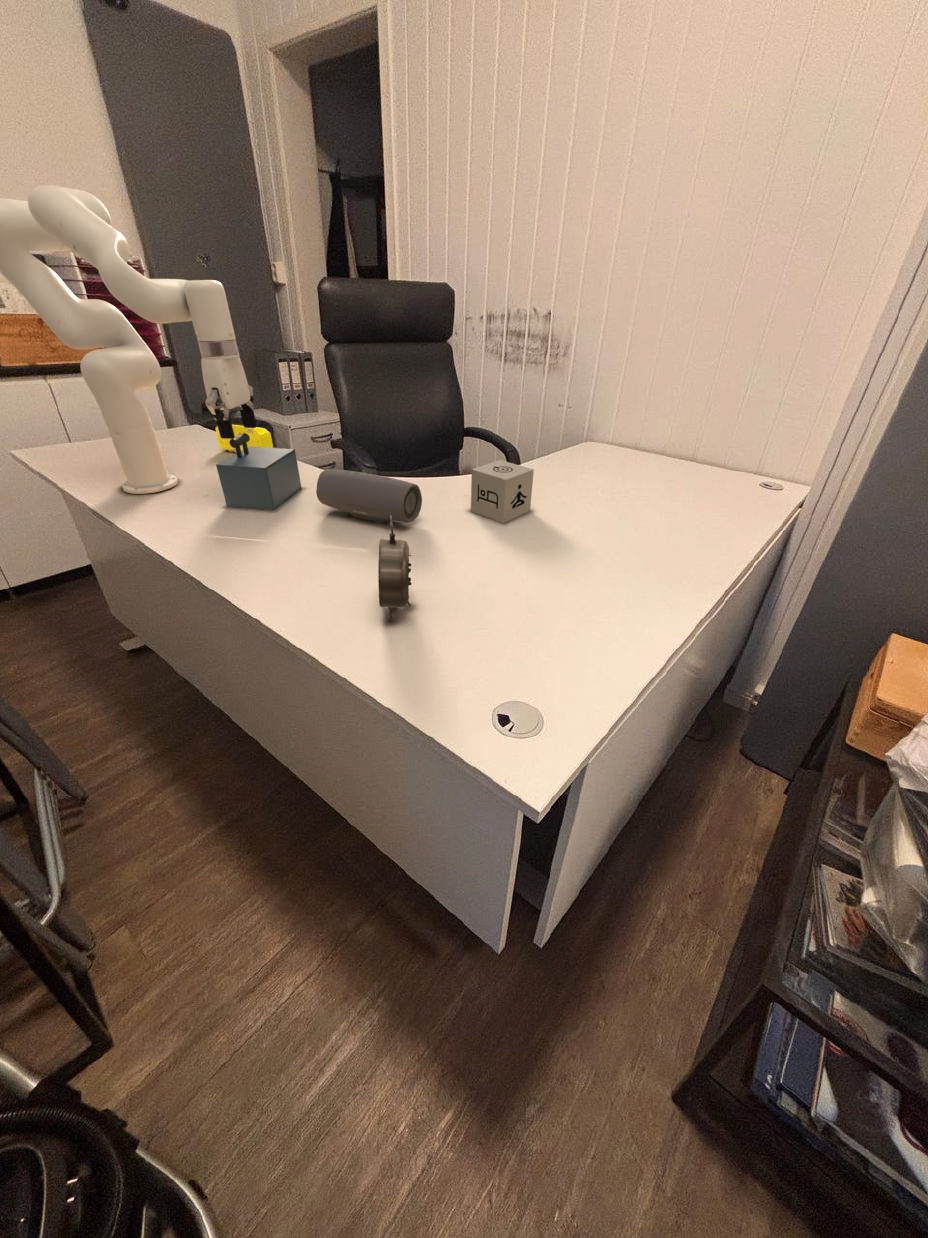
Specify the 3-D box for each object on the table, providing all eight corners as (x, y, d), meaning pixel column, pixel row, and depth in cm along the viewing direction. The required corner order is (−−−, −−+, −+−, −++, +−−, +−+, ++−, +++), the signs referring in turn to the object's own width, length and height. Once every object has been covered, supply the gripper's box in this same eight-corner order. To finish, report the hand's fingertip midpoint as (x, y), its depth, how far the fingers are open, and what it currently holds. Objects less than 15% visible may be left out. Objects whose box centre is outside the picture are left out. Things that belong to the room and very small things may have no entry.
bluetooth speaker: (424, 518, 116) (422, 475, 110) (403, 534, 109) (400, 489, 103) (342, 502, 124) (337, 461, 118) (318, 515, 117) (311, 472, 111)
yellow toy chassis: (220, 451, 157) (212, 423, 152) (232, 446, 161) (225, 419, 157) (263, 457, 153) (257, 428, 148) (274, 452, 157) (269, 423, 153)
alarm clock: (383, 590, 90) (375, 503, 80) (413, 589, 90) (409, 502, 81) (379, 626, 81) (370, 532, 71) (414, 625, 81) (408, 531, 72)
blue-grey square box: (226, 506, 120) (210, 444, 112) (258, 484, 132) (245, 427, 124) (273, 510, 119) (260, 447, 110) (301, 488, 131) (291, 430, 123)
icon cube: (470, 511, 120) (471, 469, 114) (497, 500, 126) (499, 459, 120) (503, 523, 114) (506, 479, 109) (530, 510, 121) (533, 469, 115)
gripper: (225, 344, 115) (244, 423, 125) (177, 354, 101) (202, 442, 111) (256, 345, 114) (272, 424, 124) (211, 355, 100) (234, 443, 110)
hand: (239, 432), depth 117 cm, fingers open, 9 cm apart
